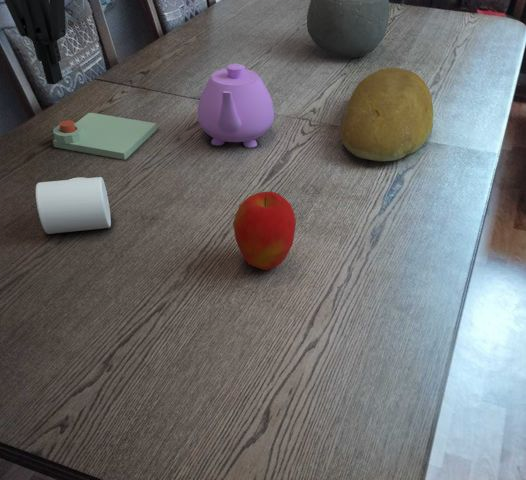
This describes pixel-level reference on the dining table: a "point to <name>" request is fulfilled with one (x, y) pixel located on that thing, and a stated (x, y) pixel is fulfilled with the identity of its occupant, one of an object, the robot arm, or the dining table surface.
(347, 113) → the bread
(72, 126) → the scale button
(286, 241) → the apple
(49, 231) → the mug
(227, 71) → the teapot
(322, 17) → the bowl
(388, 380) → the dining table surface
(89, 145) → the scale
